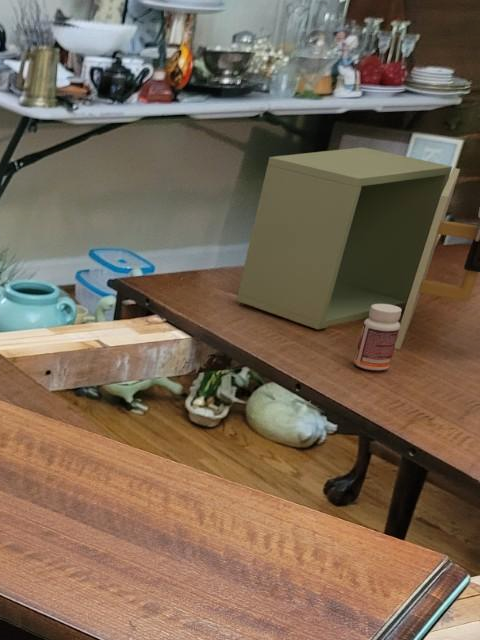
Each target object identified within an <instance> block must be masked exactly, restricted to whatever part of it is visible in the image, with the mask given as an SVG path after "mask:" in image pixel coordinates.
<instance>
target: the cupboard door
mask: <svg viewBox="0 0 480 640" xmlns="http://www.w3.org/2000/svg"><path fill="white" fill-rule="evenodd" d="M460 171H461V168H455V167H452V169H451V173H450V174H449V175H450V176H449V179H448V181H447V183H446V185H445V188H444V190H443V192H442V194H441V196H440V200H439V203H438V206H437V209H436V212H435V216H434V219H433V222H432V225H431V228H430V231H429V235H428V238H427V241H426V244H425V247H424V250H423V254H422V257H421V260H420V263H419V266H418V269H417V273H416V276H415V279H414V282H413V285H412V289H411V292H410V295H409V298H408V301H407V304H406V308H404V311H403V314H402V316H401V317H402V318H401V321H400V322H399V324H400V329H399V333H398V337H397V340H396V344H395V348H394V351H395V350H396V351H399V350H401V348H402V345H403V343H404V340H405V338H406V335H407V332H408V330H409V328H410V324H411V321H412V319H413V317H414V314H415V311H416V308H417V306H418V302H419V299H420V296H421V294H424V295H429V296H435V297H441V298H447V299H453V300H457V301H462V302H463V301H465V302H467V301H469V300H470V298H471V295H472V292H473V289H474V286H475V284H476V280H477V279H478V278H477V277H478V276H479V275H478V274H479V272H475V271H469V270H465V273H464V275H463V279H462V282H461V283H460V285H458V284H452V283H447V282H441V281H434V280H428V279H426V278H427V274H428V272H429V269H430V265H431V261H432V259H433V256H434V253H435V249H436V246H437V243H438V240H439V237H440V235H441V236H446V237H447V236H448V237H453V238H454V237H455V238H460V239H467V240H472V241H473V240H475V239H476V236H477V233H478V230H479V227H480V225H475V224H469V223H461V222H455V221H449V220H445V218H446V216H447V212H448V209H449V205H450V202H451V199H452V197H453V193H454V190H455V188H456V187H455V186H456V184H457V181H458V177H459V175H460ZM479 241H480V240H479Z"/></svg>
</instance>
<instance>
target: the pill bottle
mask: <svg viewBox="0 0 480 640" xmlns="http://www.w3.org/2000/svg"><path fill="white" fill-rule="evenodd" d="M402 309H403V308H402ZM402 309H401V308H399V307H397V306H394V305H389V304H374V305H372V306H371V309H370V312H369V317H368V318H365V320H364V321H363V325H362V328H361V332H360V337H359V340H358V345H357V348H356V352H355V356H354V361H353V362H354V364H355V365H356V366H357V367H358V368H361V369H364V370H368V371H369V370H370V371H385V370H387V369H389V368H390V366H391V361H392V358H393V354H394V351H395V349H396V348H395V344H396V340H397V337H398V333H399V329H400V322H399V320H400V319H401V316H402V311H403V310H402ZM394 348H395V349H394Z"/></svg>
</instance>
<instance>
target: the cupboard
mask: <svg viewBox="0 0 480 640" xmlns="http://www.w3.org/2000/svg"><path fill="white" fill-rule="evenodd" d="M267 162H268V163H267V165H266V170H265V175H264V179H263V182H262V183H263V184H262V188H261V192H260V196H259V201H258V204H257V210H256V214H255V218H254V223H253V227H252V231H251V235H250V238H249V239H250V240H249V244H248V248H247V254H246V257H245V260H244V261H245V262H244V266H243V270H242V274H241V279H240V283H239V288H238V292H237V296H236V302H239V303H242V304H244V305H247V306H250V307H253V308H256V309H259V310H261V311H264V312H267V313H270V314H272V315H276V316H279V317H282V318H284V319H286V320H289V321H292V322H295V323H298V324H301V325H304V326H307V327H309V328H311V329H312V328H313V329H315V330H322V329H326V328H330V327H331V326H333V325H334V326H335V325H338V324H345V323H350V322H353V321H360V320H364V319H367V318H369V312H370V309H371V306H372V305H374V304H389V305H394V306H397V307H399V308H401V309H405V308H406V304H407V301H408V298H409V295H410V292H411V289H412V285H413V282H414V279H415V276H416V273H417V269H418V266H419V263H420V260H421V257H422V254H423V250H424V247H425V244H426V241H427V238H428V235H429V231H430V228H431V225H432V222H433V219H434V216H435V212H436V209H437V206H438V203H439V200H440V196H441V194H442V192H443V190H444V188H445V185H446V183H447V181H448V179H449V177H450V174H451V172H452V170H453V166H452V165H448V164H444V163H438V162H433V161H430V160H424V159H420V158H416V157H415V158H414V157H411V156H406V155H401V154H396V153H391V152H386V151H382V150H378V149H373V148H368V147H363V146H362V147H353V148H345V149H334V150H324V151H316V152H315V151H314V152H306V153H295V154H287V155H275V156H269V158H268V161H267Z"/></svg>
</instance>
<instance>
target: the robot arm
mask: <svg viewBox="0 0 480 640" xmlns="http://www.w3.org/2000/svg"><path fill="white" fill-rule="evenodd" d="M477 217H478V218H479V219H480V208H479V209H478V216H477ZM479 240H480V227H479V230H478V233H477V236H476V239H475V240H473V239H472V242H471V244H470V248H469V251H468V254H467V256H466V260H465V262H464V265H463V269H464V270H465V271H466V270H469V271H475V272H478V273H480V241H479Z"/></svg>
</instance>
